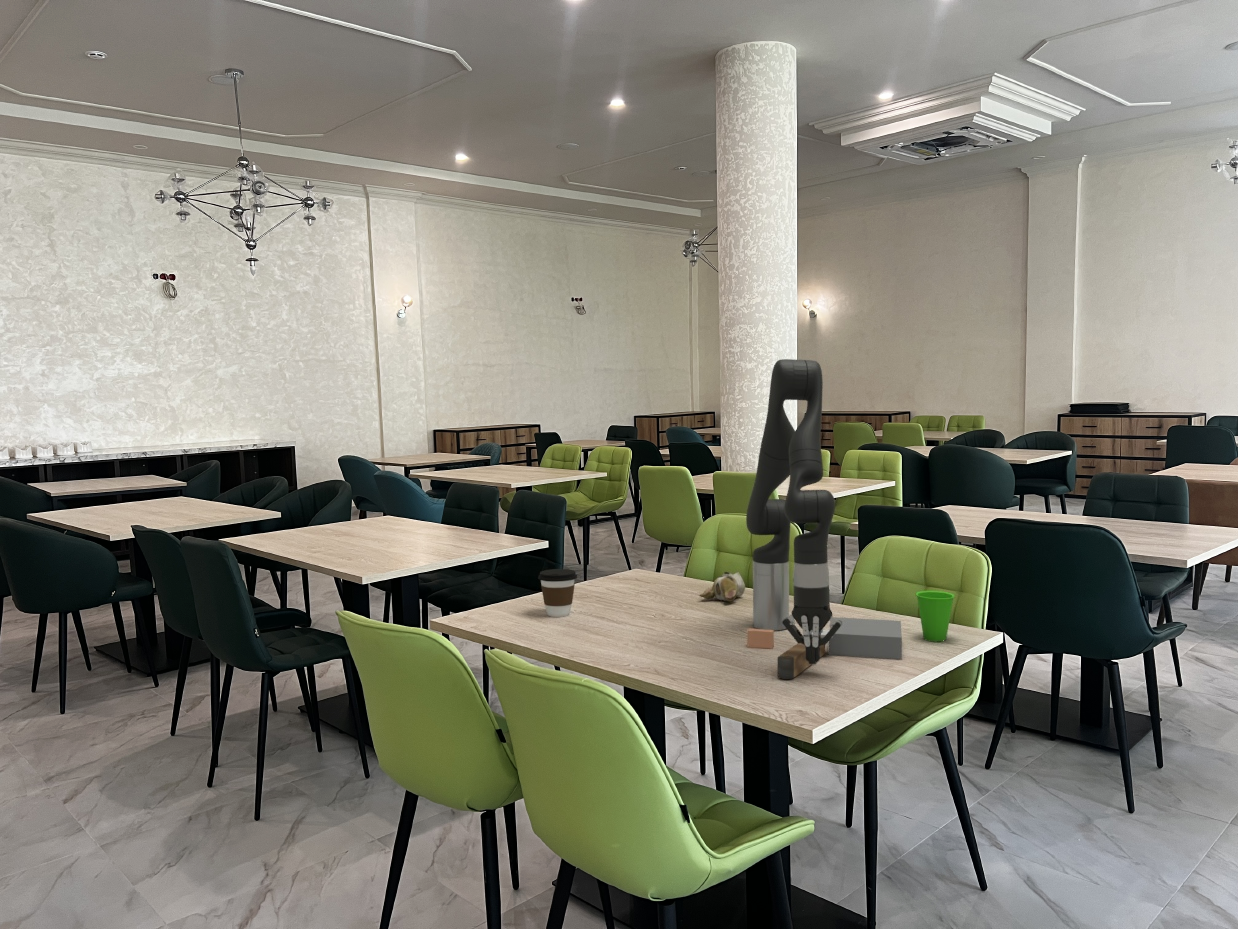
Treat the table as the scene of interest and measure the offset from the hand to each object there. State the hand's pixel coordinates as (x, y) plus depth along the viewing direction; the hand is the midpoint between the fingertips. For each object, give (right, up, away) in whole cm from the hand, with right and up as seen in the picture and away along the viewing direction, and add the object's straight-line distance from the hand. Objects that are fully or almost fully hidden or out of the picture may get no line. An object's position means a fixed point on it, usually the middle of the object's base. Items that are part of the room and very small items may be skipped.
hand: (812, 663), depth 189 cm
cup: (+35, 0, +26) cm, 44 cm away
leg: (-1, -1, +6) cm, 6 cm away
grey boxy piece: (+7, -1, +21) cm, 22 cm away
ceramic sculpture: (-10, +2, +73) cm, 74 cm away
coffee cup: (-58, 0, +57) cm, 82 cm away
